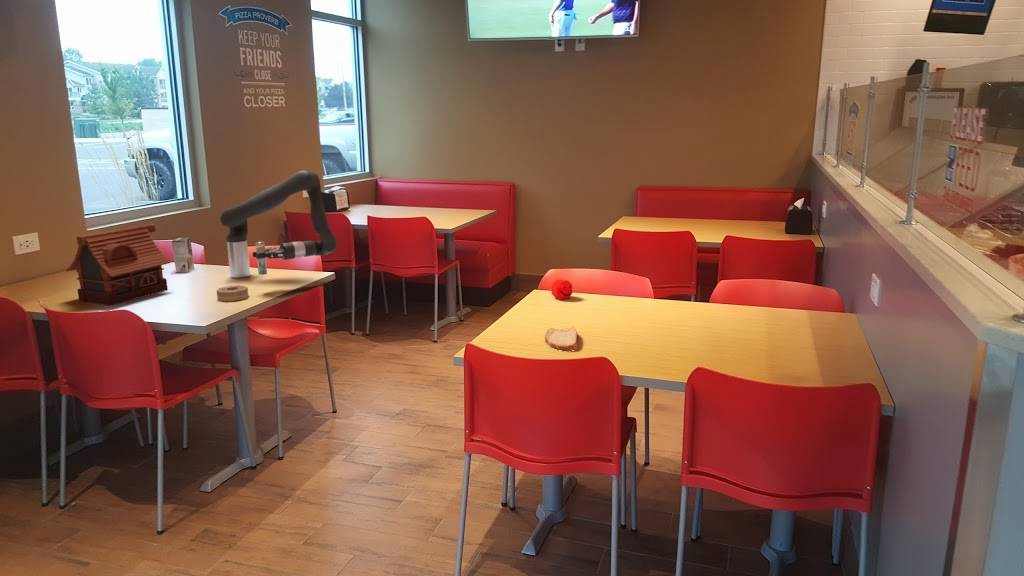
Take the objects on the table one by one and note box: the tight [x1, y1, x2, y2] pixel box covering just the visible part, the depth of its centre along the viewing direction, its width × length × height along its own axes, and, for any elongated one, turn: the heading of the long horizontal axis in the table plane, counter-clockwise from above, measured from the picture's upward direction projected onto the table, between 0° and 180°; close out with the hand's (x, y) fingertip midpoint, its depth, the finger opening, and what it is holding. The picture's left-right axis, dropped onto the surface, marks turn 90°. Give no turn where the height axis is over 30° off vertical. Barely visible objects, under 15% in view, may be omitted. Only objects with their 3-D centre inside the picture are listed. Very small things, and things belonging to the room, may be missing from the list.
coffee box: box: [171, 237, 195, 273], centre depth 363 cm, size 9×6×16 cm
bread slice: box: [544, 326, 579, 352], centre depth 249 cm, size 18×18×4 cm
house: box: [65, 223, 172, 306], centre depth 315 cm, size 35×28×29 cm
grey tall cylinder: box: [255, 241, 268, 276], centre depth 316 cm, size 4×4×14 cm
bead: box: [216, 284, 249, 302], centre depth 311 cm, size 12×12×4 cm
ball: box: [550, 278, 573, 301], centre depth 304 cm, size 8×8×8 cm
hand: (254, 255), depth 314 cm, fingers closed on grey tall cylinder, 3 cm apart
